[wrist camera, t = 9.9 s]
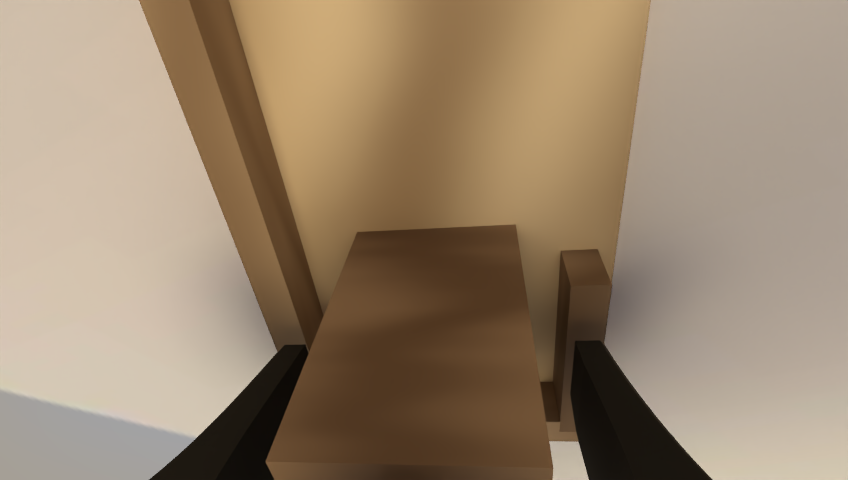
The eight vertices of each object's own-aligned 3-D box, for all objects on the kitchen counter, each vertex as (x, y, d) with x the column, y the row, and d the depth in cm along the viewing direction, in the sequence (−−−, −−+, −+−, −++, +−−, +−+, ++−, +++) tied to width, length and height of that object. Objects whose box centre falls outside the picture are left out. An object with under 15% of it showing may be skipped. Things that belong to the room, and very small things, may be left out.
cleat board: (691, -388, 7) (767, -503, 5) (591, 386, 17) (606, 441, 15) (112, -265, 8) (11, -324, 7) (327, 387, 18) (311, 437, 16)
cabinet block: (515, 224, 13) (561, 525, 6) (515, 352, 15) (548, 657, 9) (357, 232, 13) (244, 513, 7) (384, 354, 16) (322, 640, 9)
